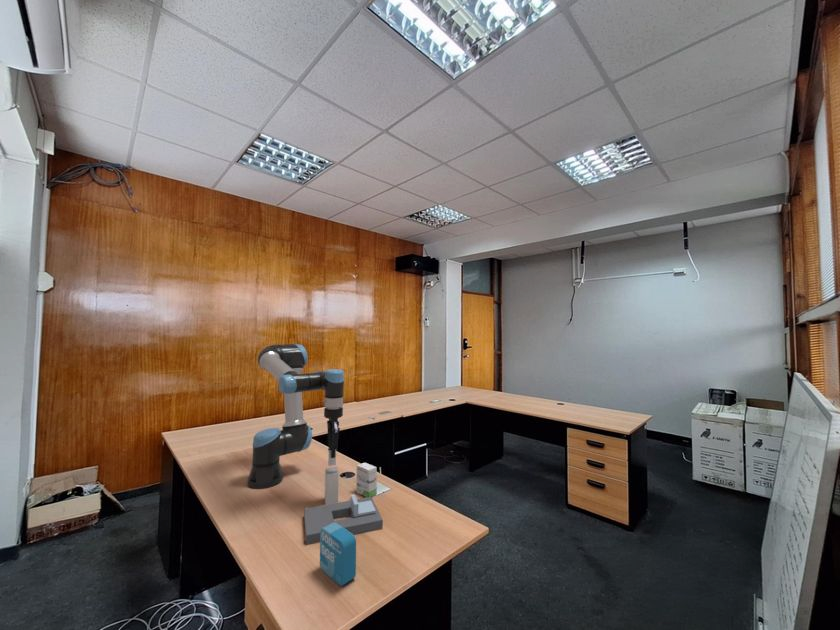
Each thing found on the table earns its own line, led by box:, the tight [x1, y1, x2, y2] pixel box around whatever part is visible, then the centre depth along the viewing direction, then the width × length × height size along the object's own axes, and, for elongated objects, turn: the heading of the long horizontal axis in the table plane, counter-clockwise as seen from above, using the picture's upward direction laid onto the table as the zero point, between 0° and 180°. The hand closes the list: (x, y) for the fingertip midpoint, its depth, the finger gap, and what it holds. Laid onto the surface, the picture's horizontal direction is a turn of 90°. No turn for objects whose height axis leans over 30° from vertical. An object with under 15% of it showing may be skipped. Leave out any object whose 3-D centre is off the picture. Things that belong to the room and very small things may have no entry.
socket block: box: [303, 496, 384, 546], centre depth 123 cm, size 18×26×3 cm
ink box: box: [356, 462, 378, 498], centre depth 145 cm, size 9×5×12 cm, turn 49°
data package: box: [319, 522, 357, 587], centre depth 97 cm, size 12×4×12 cm, turn 48°
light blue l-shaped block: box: [350, 493, 376, 517], centre depth 125 cm, size 8×8×4 cm
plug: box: [324, 466, 340, 505], centre depth 139 cm, size 5×5×13 cm
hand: (332, 464), depth 137 cm, fingers closed
